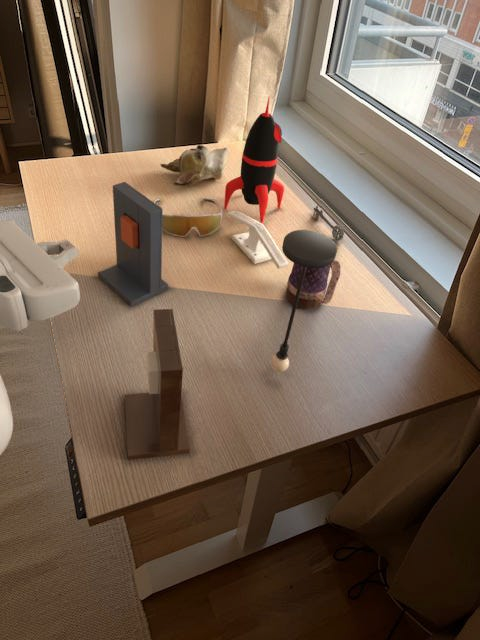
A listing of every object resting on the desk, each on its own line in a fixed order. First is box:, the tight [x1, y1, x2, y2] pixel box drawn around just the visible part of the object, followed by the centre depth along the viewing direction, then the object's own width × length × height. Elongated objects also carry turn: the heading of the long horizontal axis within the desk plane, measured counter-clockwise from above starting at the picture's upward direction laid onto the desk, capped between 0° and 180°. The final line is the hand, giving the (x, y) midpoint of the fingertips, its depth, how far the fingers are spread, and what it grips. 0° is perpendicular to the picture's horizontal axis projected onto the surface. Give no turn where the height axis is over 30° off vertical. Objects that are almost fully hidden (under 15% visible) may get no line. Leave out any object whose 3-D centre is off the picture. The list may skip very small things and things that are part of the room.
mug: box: [285, 259, 342, 310], centre depth 90 cm, size 10×7×12 cm
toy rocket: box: [223, 94, 285, 224], centre depth 108 cm, size 10×10×25 cm
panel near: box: [124, 308, 191, 461], centre depth 66 cm, size 8×10×17 cm
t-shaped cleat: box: [227, 210, 289, 270], centre depth 103 cm, size 4×20×6 cm, turn 30°
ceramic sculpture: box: [160, 144, 229, 188], centre depth 120 cm, size 11×9×15 cm
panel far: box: [97, 181, 169, 307], centre depth 87 cm, size 8×10×17 cm
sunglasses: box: [153, 198, 223, 238], centre depth 109 cm, size 14×15×5 cm
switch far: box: [121, 215, 138, 248], centre depth 85 cm, size 1×3×4 cm, turn 44°
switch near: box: [146, 350, 158, 394], centre depth 64 cm, size 1×3×4 cm, turn 12°
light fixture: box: [271, 229, 338, 373], centre depth 72 cm, size 7×7×25 cm
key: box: [312, 205, 345, 242], centre depth 112 cm, size 12×1×3 cm, turn 24°
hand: (73, 247), depth 79 cm, fingers closed
